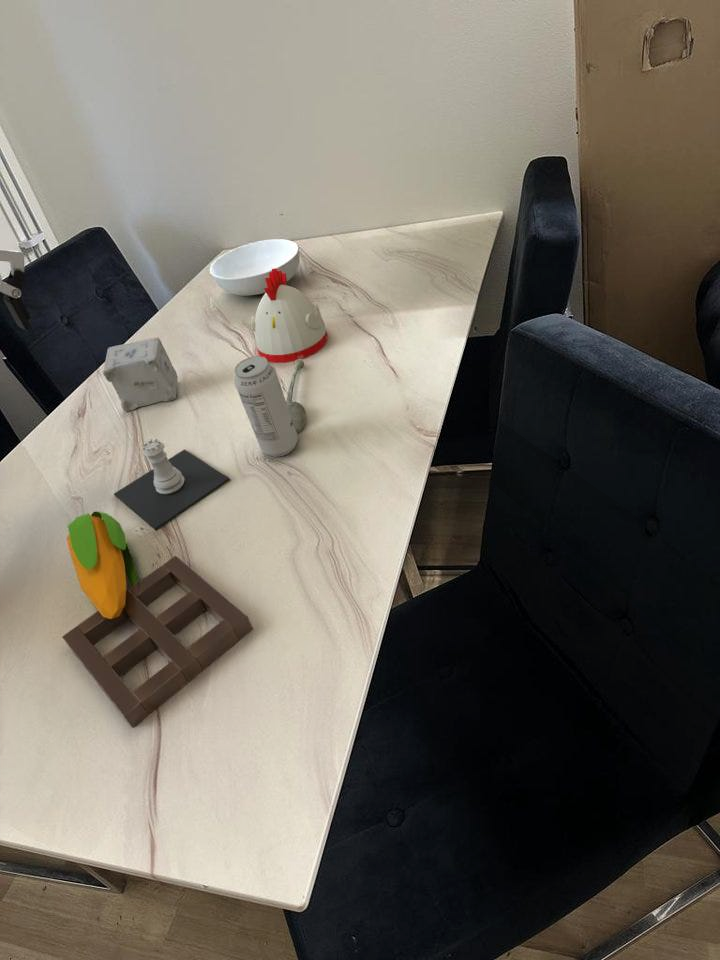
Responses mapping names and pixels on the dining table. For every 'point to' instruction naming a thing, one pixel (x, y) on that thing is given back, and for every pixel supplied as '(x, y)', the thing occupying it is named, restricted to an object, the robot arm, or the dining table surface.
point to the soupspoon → (294, 407)
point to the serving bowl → (254, 265)
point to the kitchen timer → (287, 323)
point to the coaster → (167, 507)
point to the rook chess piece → (162, 468)
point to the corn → (102, 561)
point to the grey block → (141, 373)
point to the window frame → (158, 638)
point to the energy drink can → (265, 406)
